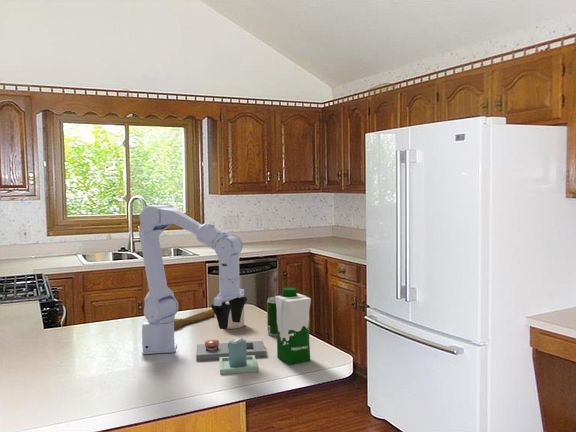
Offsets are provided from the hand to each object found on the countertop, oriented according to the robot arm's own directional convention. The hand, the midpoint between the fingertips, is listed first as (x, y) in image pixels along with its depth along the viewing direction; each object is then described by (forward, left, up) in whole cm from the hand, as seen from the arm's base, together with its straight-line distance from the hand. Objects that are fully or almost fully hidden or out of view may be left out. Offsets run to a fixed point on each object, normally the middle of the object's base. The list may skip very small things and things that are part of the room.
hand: (229, 325), depth 149 cm
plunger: (-5, +5, -10) cm, 12 cm away
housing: (0, +5, -10) cm, 11 cm away
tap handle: (-15, +40, -10) cm, 44 cm away
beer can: (+16, +22, -10) cm, 29 cm away
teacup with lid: (+1, +36, -10) cm, 38 cm away
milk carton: (+18, -4, -10) cm, 21 cm away
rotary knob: (+2, -7, -9) cm, 12 cm away
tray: (+2, -7, -10) cm, 12 cm away
